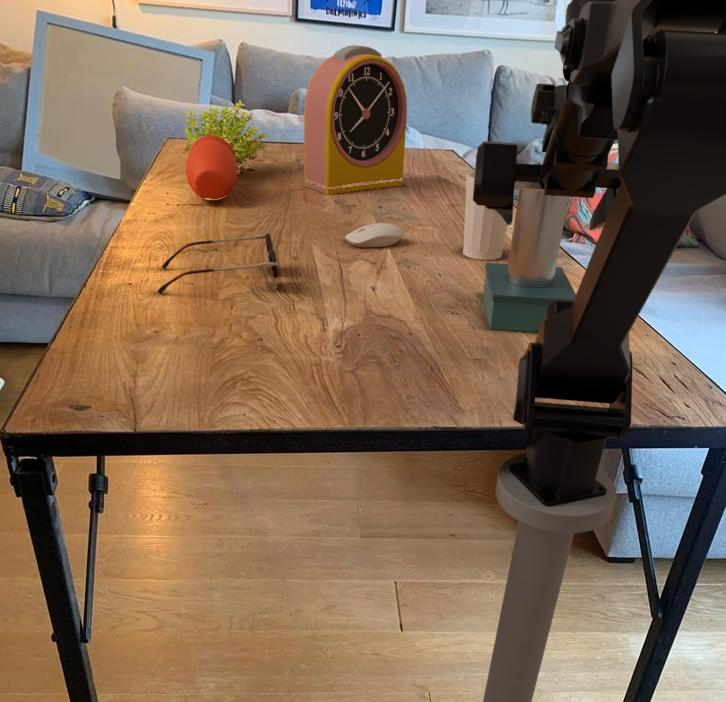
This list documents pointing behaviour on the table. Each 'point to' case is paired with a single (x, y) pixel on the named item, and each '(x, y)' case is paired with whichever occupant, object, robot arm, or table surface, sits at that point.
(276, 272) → the sunglasses
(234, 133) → the potted plant
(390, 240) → the computer mouse
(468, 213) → the cup
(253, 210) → the table surface
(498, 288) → the lidded box
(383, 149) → the alarm clock
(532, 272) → the flask
